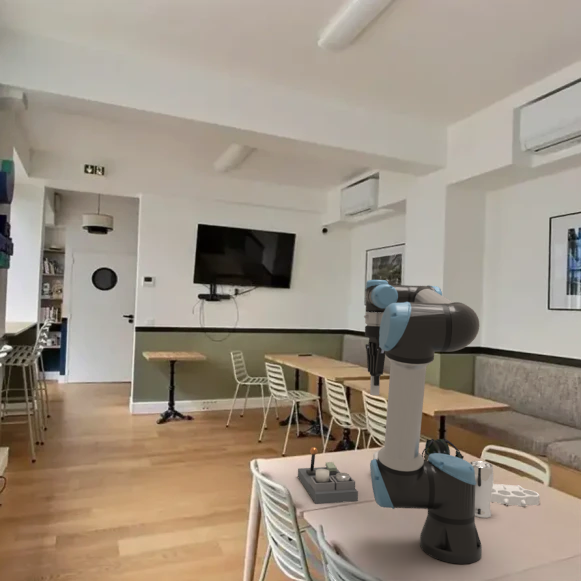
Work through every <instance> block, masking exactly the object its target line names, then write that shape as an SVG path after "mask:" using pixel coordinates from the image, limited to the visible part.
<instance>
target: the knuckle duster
mask: <svg viewBox="0 0 581 581" xmlns="http://www.w3.org/2000/svg"><path fill="white" fill-rule="evenodd" d="M490 502H497V503H496V504H499V503H501V504H500V505H502V504H506V505H505V506H507V505H512V506H513V505H518V506H517V507H527V506H526V505H528V506H534V505H537V506H539V505H540V493H538V492H537V491H535V490H531V489H526V488H524V487H522V486H521V485H519V484H517V485H516V484H515V485H513V484H503V483H500V484H499V483H493V489H492V494H491V500H490ZM538 504H539V505H538Z"/></svg>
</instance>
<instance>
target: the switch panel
mask: <svg viewBox="0 0 581 581" xmlns="http://www.w3.org/2000/svg"><path fill="white" fill-rule="evenodd" d="M317 469H327V467H326V466H321V467H314V470H313V471H311V470H310V467H302V468H300V467H299V468H297V478H298V477H299V478H298V480H299V481H300V480H301V481H300V482H301V484H302V485H303V487H304V488H305V490H306V492H307V493H308V494H309V496H310V498H311V499H312V500H313V503H314V504H317V505H318V504H333V503H334V504H335V502H336V503H344V502H343V501H351V502H358V501H359V491H358V490H357V489H356V480H355V479H354V478H352V477H351V476H350V479H349V481H348V482H337V481H336V474H337V473H341V471H339V469H338V468H337V471H329V482H327V483H319V482H317V481H316V470H317ZM327 470H328V469H327Z"/></svg>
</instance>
